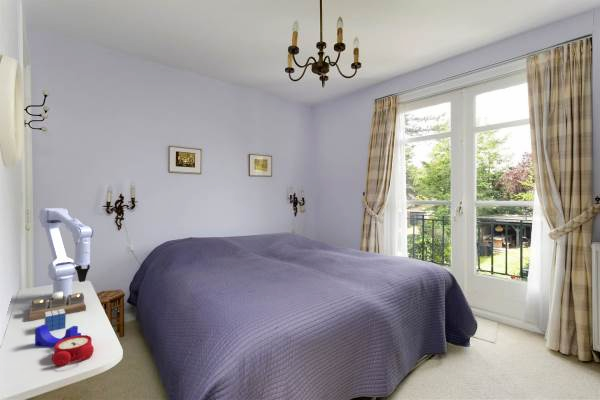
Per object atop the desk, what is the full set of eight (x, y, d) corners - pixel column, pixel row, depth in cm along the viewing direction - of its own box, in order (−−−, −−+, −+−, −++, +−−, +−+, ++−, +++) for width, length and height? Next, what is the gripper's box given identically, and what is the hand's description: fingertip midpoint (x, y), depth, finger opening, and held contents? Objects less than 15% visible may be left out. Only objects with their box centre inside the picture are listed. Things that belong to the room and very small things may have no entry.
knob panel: (29, 309, 129) (29, 297, 129) (80, 300, 141) (81, 289, 141) (29, 321, 117) (29, 308, 117) (85, 310, 129) (86, 298, 129)
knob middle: (52, 299, 129) (52, 292, 129) (62, 297, 132) (62, 291, 132) (52, 301, 127) (53, 294, 127) (63, 299, 129) (63, 292, 129)
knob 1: (33, 307, 125) (33, 299, 125) (43, 305, 127) (43, 298, 127) (33, 309, 123) (33, 302, 123) (44, 307, 125) (44, 300, 125)
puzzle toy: (63, 323, 116) (64, 308, 116) (65, 328, 112) (65, 312, 112) (44, 327, 112) (44, 312, 112) (45, 332, 108) (45, 316, 108)
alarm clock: (92, 331, 102) (96, 337, 91) (92, 351, 101) (96, 360, 90) (52, 340, 96) (51, 347, 84) (51, 361, 95) (51, 372, 83)
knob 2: (70, 300, 134) (70, 294, 133) (79, 299, 136) (80, 292, 136) (71, 303, 131) (71, 296, 131) (80, 301, 133) (81, 294, 133)
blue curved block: (80, 341, 102) (81, 324, 102) (70, 348, 98) (70, 329, 98) (47, 340, 103) (47, 322, 103) (34, 346, 98) (35, 328, 98)
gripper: (70, 250, 142) (69, 279, 142) (73, 255, 132) (72, 286, 132) (88, 249, 147) (87, 277, 147) (92, 253, 136) (92, 283, 136)
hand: (81, 281), depth 140 cm, fingers closed
